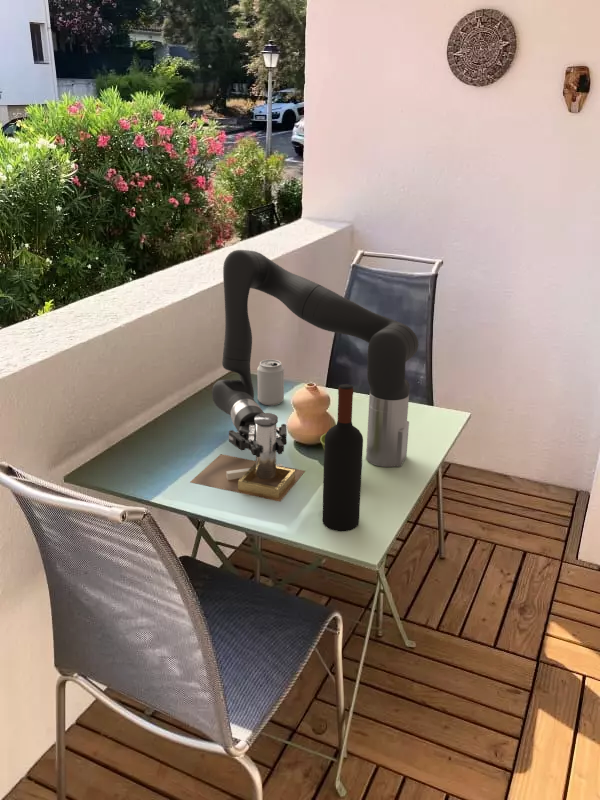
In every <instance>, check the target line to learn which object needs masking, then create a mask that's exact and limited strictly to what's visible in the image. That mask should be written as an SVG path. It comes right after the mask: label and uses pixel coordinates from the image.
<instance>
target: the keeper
mask: <svg viewBox="0 0 600 800" xmlns="http://www.w3.org/2000/svg"><path fill="white" fill-rule="evenodd" d="M255 477H256V463H255V464H254V465H253V466H252V467H251V468H250V469H249V470H248V471H247V472H246V473H245V475H244V476H243V477H242V478H241V479H240V480H239V481H238V491H242V492H247V493H251V494H256V495H261V496H265V497H270V498H275V499H279V498H280V497H281V496H282V495H283V493H284V492H285V491H286V490H287V489H288V487H289V486H290V485H291V484H292V483H293V481H294V480H295V470H293V469H288V468H283V467H278V466H276V476H275V477H277V478H282V479H283V480H282V481H281V483H280V484H279V485H278V486H277V487H273V486H269V485H264V484H259V483H254V482H251V481H252V480H253V479H254V478H255Z"/></svg>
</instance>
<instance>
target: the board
mask: <svg viewBox="0 0 600 800" xmlns="http://www.w3.org/2000/svg"><path fill="white" fill-rule="evenodd" d="M255 463H256V460H252V459H247V458H242V457H238V456H233V455H227V454H219V455H218V456H216V458H215V459H214V460H212V461H211V462H210V463H209V464H208V465H207V466H206V467H205V468H204V469H203V470H202V471H200V472H199V473H198V474H197V475H196V476H194V478H193V479H192V480H190V481H189V482H190V483H193V484H196V485H202V486H205V487H211V488H215V489H220V490H223V491H229V492H233V493H238V494H244V495H247V496H252V497H255V498H257V497H258V498H261V499H266V500H271V501H276V502H278V503H279V502H282V500H283V499H284V498H285V496H286V495H287V494H288V493H289V492H290V491H291V490H292V488H293V487H294V486H295V485H296V483H297V482H298V481H299V480H300V479H301V478H302V476H303V475H304V474H305V472H306V470H303V469H297V468H293V467H288V466H284V465H283V468H288V469H293V470H295V480H294V481H293V483H292V484H291V485H290V486H289V487H288V489H287V490H286V491H285V492H284V493H283V495H282V496H281V497H280V498H279V499H275V498H270V497H265V496H261V495H256V494H251V493H247V492H242V491H238V481H239V480H240V479H241V478H238V479H231V480H228V479H227V475H226V471H232V470H239V469H246V468H251V467H252V466H253V465H254V464H255ZM282 480H283V479H282V478H277V477H273V478H271V479H261V478H259V477H257V476H256V477H255V478H254V479H253V480H252V481H251V482H254V483H259V484H264V485H269V486H273V487H277V486H278V485H279V484H280V483H281V481H282Z"/></svg>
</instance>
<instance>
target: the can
mask: <svg viewBox="0 0 600 800" xmlns="http://www.w3.org/2000/svg"><path fill="white" fill-rule="evenodd" d="M282 364H283V363H282V362H281V361H280V360H278V359H272V358H270V359H269V358H268V359H263V360H261V361H260V362H259V365H258V367H257V368H256V369H257V400H258V402H260V403H261V404H262V405H264V406H270V407H271V406H277V405H279V403H280V404H281V403H282V402H283V401H284V398H285V397H284V396H285V394H284V393H285V367H284V366H283V365H282Z"/></svg>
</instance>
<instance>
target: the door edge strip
mask: <svg viewBox="0 0 600 800" xmlns="http://www.w3.org/2000/svg"><path fill="white" fill-rule="evenodd" d="M276 466H278V467H283V466H284V465H283V463H276ZM249 469H250V468H246V469H239V470H232V471H226V475H227V479H228V480H231V479H238V478H242V477H243V476H244V475H245V473H246V472H247V471H248V470H249Z"/></svg>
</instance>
